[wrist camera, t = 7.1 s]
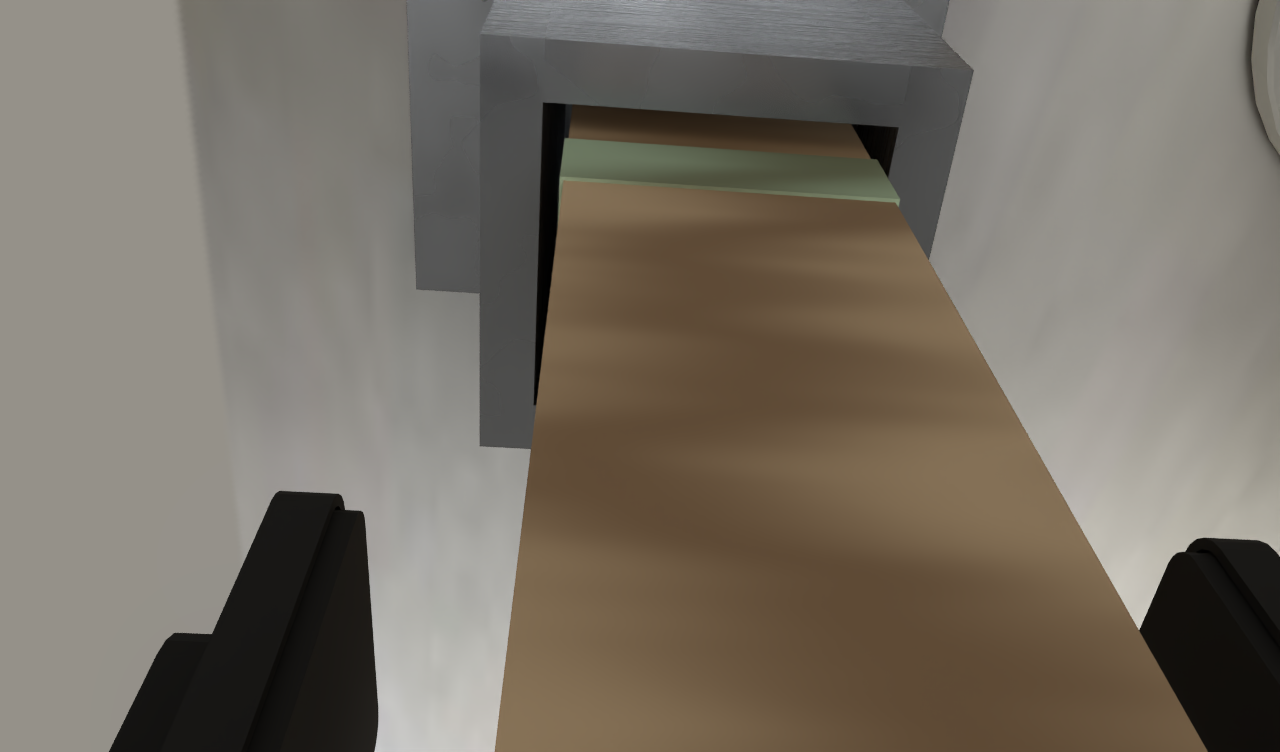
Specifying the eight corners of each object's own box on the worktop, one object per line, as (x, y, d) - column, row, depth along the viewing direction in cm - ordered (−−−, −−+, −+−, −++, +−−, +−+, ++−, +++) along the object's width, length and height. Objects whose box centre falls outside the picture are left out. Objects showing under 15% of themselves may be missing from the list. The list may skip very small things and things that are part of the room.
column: (810, 44, 21) (1372, 1009, 5) (777, 254, 23) (1100, 1356, 8) (579, 27, 21) (453, 983, 5) (568, 241, 23) (462, 1350, 7)
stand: (974, -206, 25) (1255, -145, 14) (869, 293, 32) (1003, 601, 21) (409, -256, 24) (234, -233, 13) (424, 265, 31) (317, 570, 20)
